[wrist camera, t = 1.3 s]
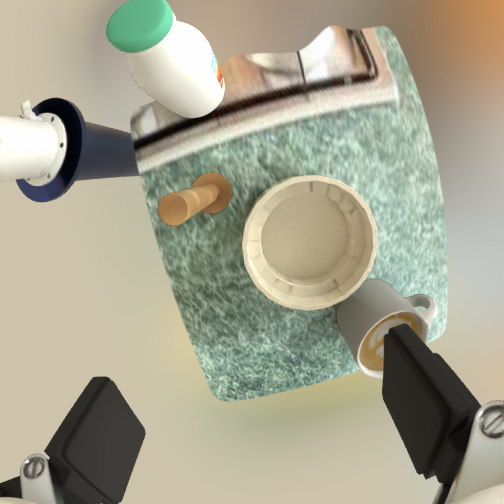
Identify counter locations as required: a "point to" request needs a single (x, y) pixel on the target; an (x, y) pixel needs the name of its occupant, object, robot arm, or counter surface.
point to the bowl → (309, 242)
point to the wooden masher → (196, 199)
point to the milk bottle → (167, 57)
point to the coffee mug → (380, 321)
